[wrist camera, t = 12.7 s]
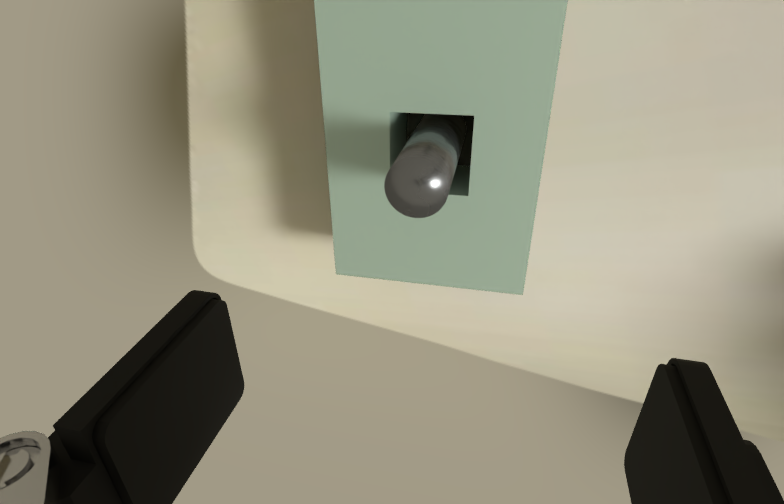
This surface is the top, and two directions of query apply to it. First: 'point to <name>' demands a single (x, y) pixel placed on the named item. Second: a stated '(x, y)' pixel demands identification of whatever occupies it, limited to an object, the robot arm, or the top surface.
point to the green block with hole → (437, 96)
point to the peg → (426, 166)
